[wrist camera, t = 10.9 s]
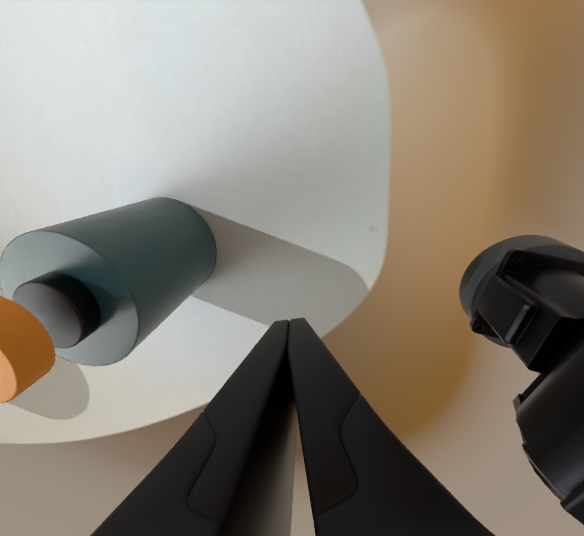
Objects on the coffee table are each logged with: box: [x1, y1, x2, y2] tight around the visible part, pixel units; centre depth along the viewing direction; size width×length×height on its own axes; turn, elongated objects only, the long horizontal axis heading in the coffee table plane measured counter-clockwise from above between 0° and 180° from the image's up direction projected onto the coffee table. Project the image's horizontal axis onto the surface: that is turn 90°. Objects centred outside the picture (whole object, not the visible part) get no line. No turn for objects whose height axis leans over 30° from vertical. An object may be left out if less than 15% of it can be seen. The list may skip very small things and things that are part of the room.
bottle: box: [0, 198, 216, 366], centre depth 18 cm, size 7×7×10 cm
